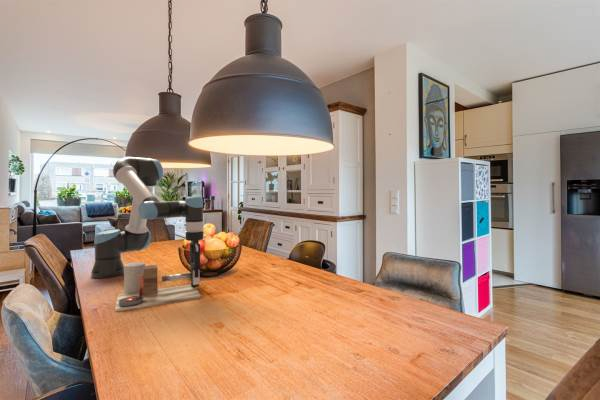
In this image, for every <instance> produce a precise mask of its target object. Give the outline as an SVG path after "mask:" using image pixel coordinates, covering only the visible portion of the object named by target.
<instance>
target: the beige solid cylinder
mask: <svg viewBox="0 0 600 400" xmlns="http://www.w3.org/2000/svg"><path fill="white" fill-rule="evenodd" d="M123 265H124V274H123V284H124V285H123V288H124V289H123V292H124V293H123V294H126V293H133V292H139V275H144V266H146V262H143V261H142V262H141V261H137V262H129V263H125V264H123Z"/></svg>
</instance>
